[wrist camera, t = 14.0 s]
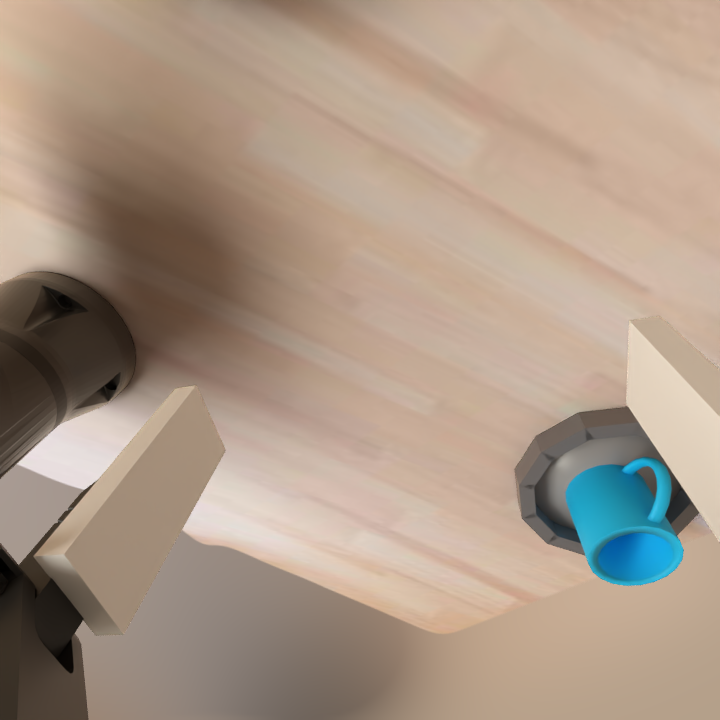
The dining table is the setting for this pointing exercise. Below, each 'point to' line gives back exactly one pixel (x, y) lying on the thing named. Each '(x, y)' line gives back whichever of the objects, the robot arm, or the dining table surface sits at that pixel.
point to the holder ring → (578, 453)
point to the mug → (625, 522)
